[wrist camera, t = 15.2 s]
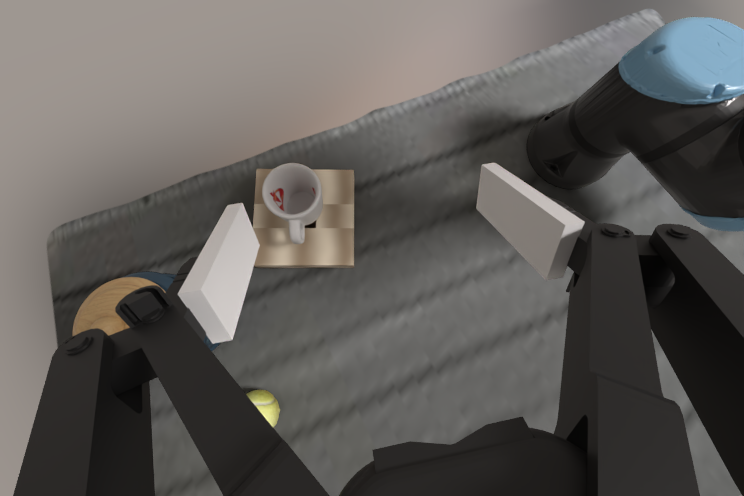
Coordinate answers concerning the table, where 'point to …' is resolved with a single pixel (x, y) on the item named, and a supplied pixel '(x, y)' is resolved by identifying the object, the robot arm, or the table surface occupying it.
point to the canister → (106, 297)
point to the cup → (293, 197)
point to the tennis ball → (265, 405)
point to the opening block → (309, 227)
